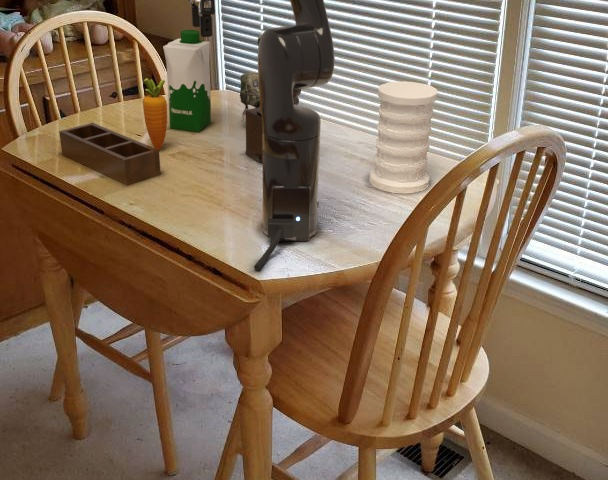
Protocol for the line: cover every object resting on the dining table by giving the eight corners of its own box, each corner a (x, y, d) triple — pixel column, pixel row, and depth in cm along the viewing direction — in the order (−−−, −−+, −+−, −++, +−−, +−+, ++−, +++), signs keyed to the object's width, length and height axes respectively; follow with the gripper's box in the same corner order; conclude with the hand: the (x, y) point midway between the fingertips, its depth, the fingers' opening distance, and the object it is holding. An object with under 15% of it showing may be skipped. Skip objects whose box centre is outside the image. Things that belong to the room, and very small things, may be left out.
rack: (127, 185, 152) (124, 160, 150) (62, 154, 165) (58, 131, 162) (160, 174, 157) (159, 150, 155) (95, 145, 170) (92, 122, 167)
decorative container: (438, 179, 159) (449, 87, 150) (414, 198, 151) (424, 102, 141) (385, 166, 164) (392, 77, 155) (359, 184, 156) (365, 91, 146)
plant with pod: (231, 123, 185) (229, 32, 174) (275, 117, 189) (276, 28, 179) (246, 134, 179) (245, 40, 168) (291, 127, 183) (293, 36, 173)
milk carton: (216, 122, 185) (213, 31, 174) (200, 134, 178) (196, 40, 167) (180, 117, 187) (175, 27, 176) (163, 129, 180) (157, 36, 169)
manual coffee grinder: (241, 154, 168) (240, 66, 158) (283, 144, 174) (285, 59, 164) (286, 177, 158) (288, 85, 148) (330, 166, 164) (334, 76, 154)
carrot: (172, 146, 171) (168, 75, 163) (166, 155, 166) (162, 81, 158) (149, 145, 171) (144, 73, 163) (143, 153, 167) (137, 80, 159)
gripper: (172, -64, 155) (177, 24, 164) (185, -54, 143) (189, 40, 152) (210, -65, 157) (213, 23, 166) (226, -54, 145) (228, 39, 154)
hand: (202, 31), depth 159 cm, fingers open, 8 cm apart
